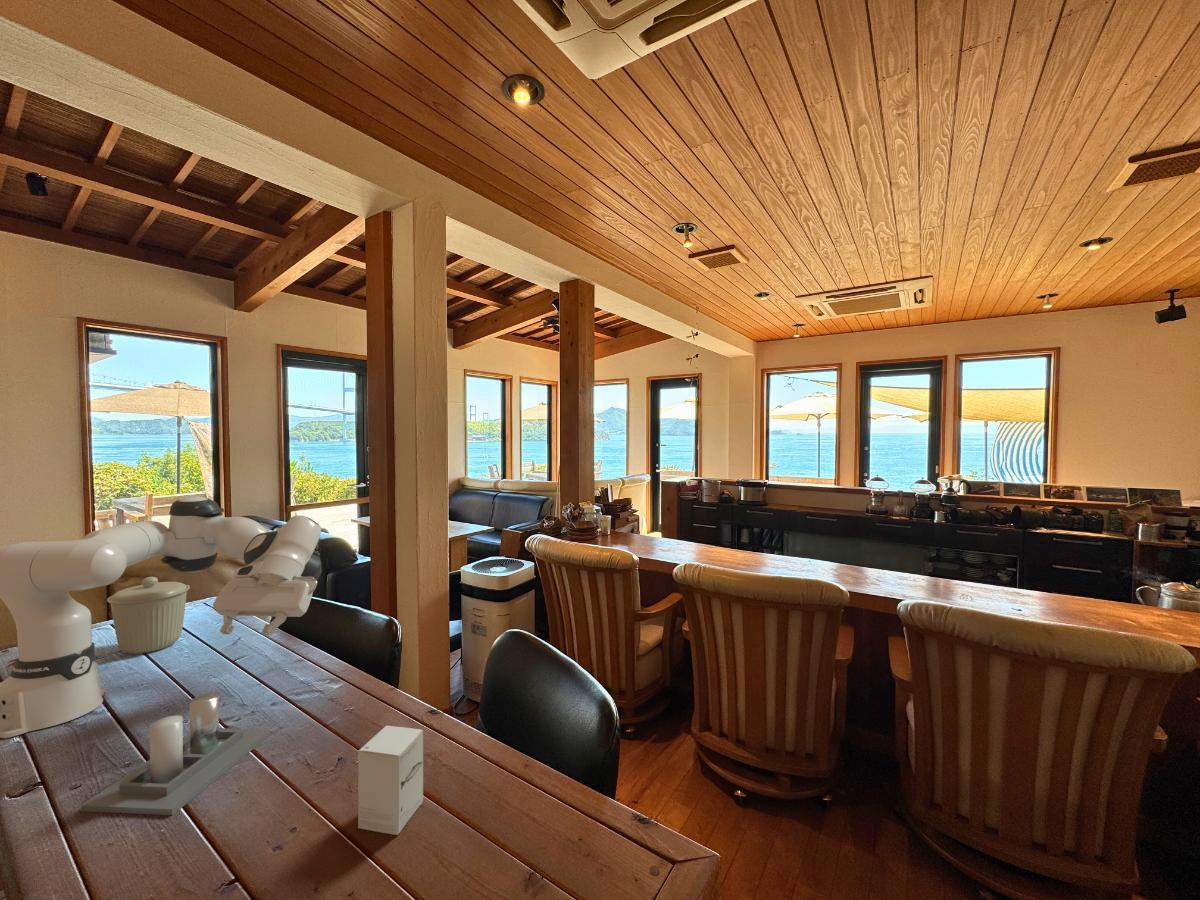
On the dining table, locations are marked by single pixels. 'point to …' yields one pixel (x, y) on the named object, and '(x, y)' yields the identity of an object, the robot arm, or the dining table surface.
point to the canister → (148, 615)
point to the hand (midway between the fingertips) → (245, 633)
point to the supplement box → (390, 779)
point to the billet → (204, 723)
